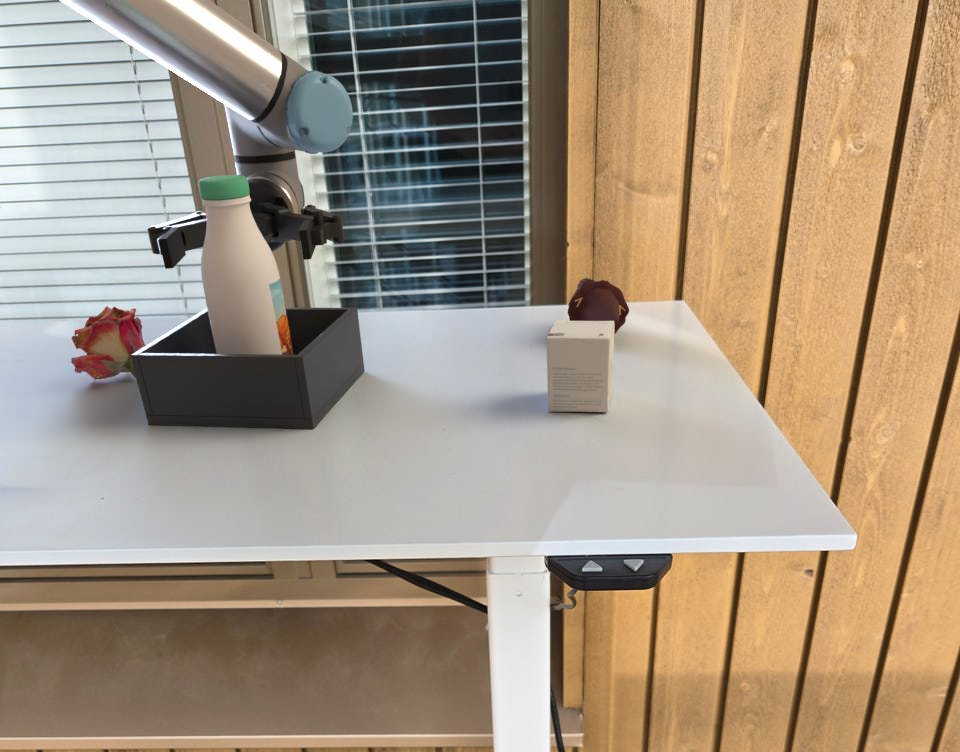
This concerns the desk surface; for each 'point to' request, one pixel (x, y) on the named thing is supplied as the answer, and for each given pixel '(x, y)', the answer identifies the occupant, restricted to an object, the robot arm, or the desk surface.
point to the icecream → (598, 303)
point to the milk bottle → (240, 274)
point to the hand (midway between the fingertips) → (235, 249)
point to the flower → (108, 343)
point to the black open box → (251, 374)
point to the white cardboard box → (580, 366)
